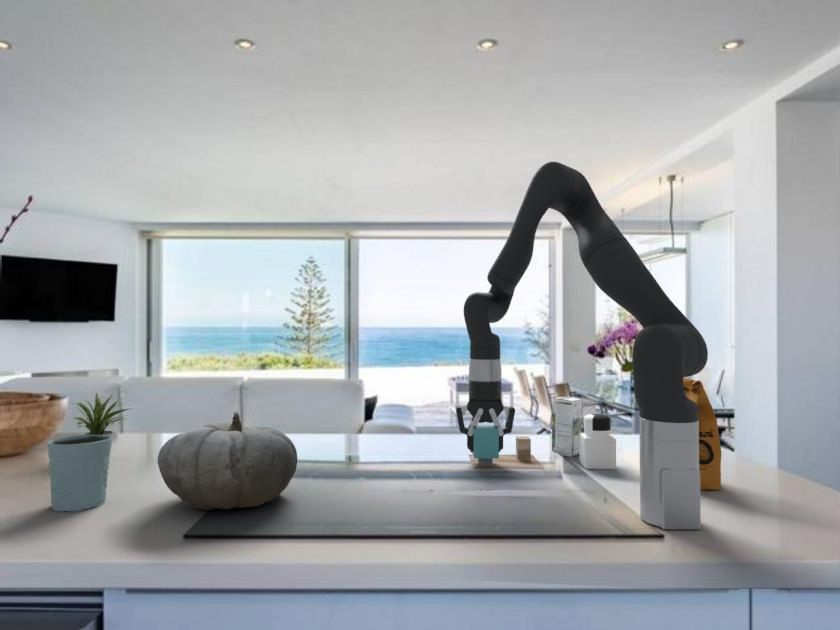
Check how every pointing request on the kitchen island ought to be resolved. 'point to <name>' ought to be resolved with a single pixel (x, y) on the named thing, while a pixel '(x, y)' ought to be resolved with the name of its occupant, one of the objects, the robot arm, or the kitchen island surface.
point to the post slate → (485, 461)
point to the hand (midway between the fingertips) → (485, 451)
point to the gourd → (227, 465)
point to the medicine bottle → (597, 443)
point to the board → (513, 458)
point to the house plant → (99, 417)
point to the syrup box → (566, 425)
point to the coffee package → (706, 437)
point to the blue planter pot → (79, 471)
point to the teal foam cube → (485, 441)
